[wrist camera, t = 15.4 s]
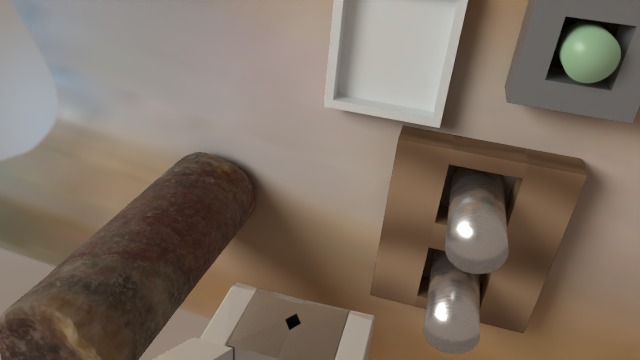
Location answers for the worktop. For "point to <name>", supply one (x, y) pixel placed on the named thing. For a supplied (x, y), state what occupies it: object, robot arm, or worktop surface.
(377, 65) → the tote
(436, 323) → the seated billet
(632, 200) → the worktop surface
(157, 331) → the brown rounded piece
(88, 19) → the worktop surface
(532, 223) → the wooden holder frame
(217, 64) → the worktop surface
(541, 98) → the grey square holed block
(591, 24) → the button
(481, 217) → the cylinder
